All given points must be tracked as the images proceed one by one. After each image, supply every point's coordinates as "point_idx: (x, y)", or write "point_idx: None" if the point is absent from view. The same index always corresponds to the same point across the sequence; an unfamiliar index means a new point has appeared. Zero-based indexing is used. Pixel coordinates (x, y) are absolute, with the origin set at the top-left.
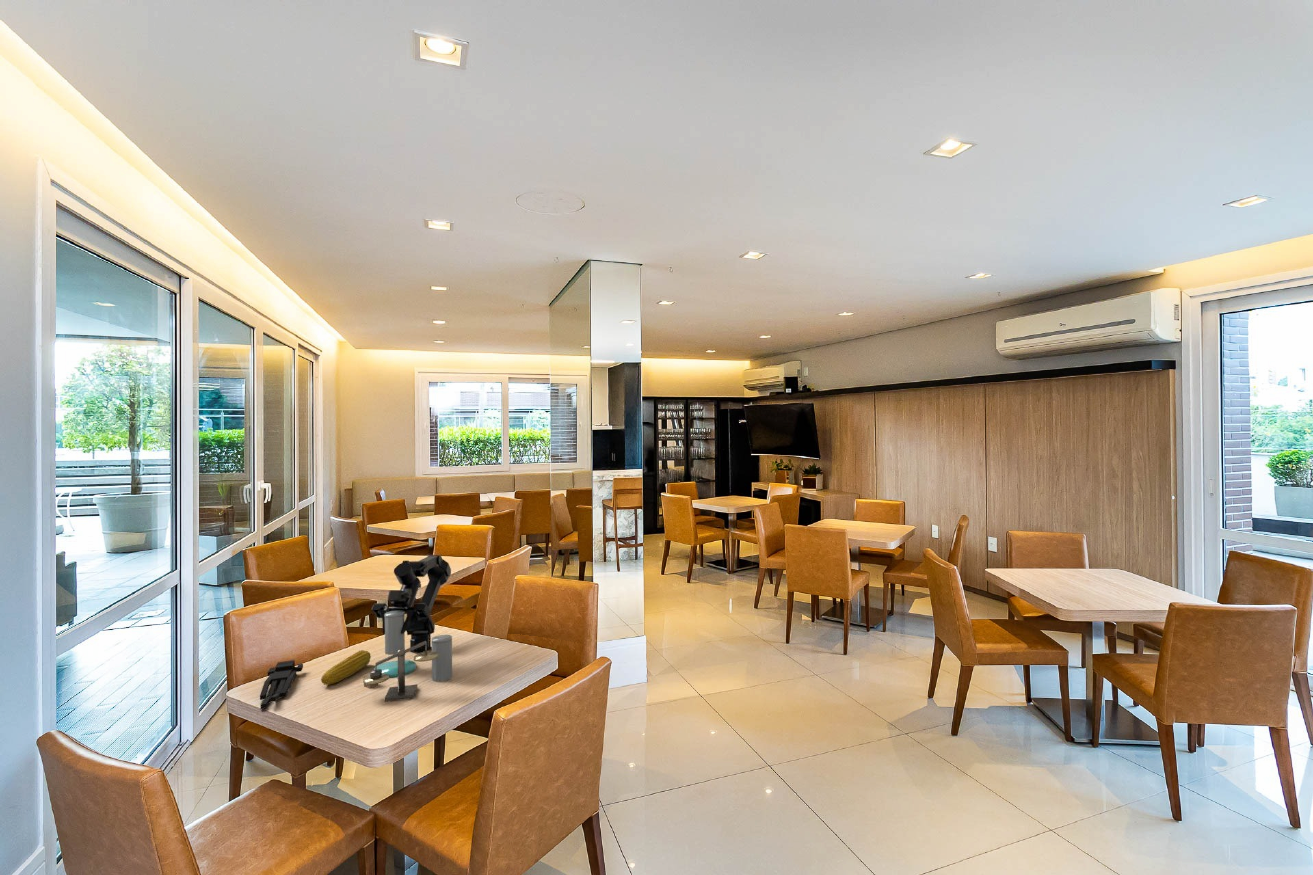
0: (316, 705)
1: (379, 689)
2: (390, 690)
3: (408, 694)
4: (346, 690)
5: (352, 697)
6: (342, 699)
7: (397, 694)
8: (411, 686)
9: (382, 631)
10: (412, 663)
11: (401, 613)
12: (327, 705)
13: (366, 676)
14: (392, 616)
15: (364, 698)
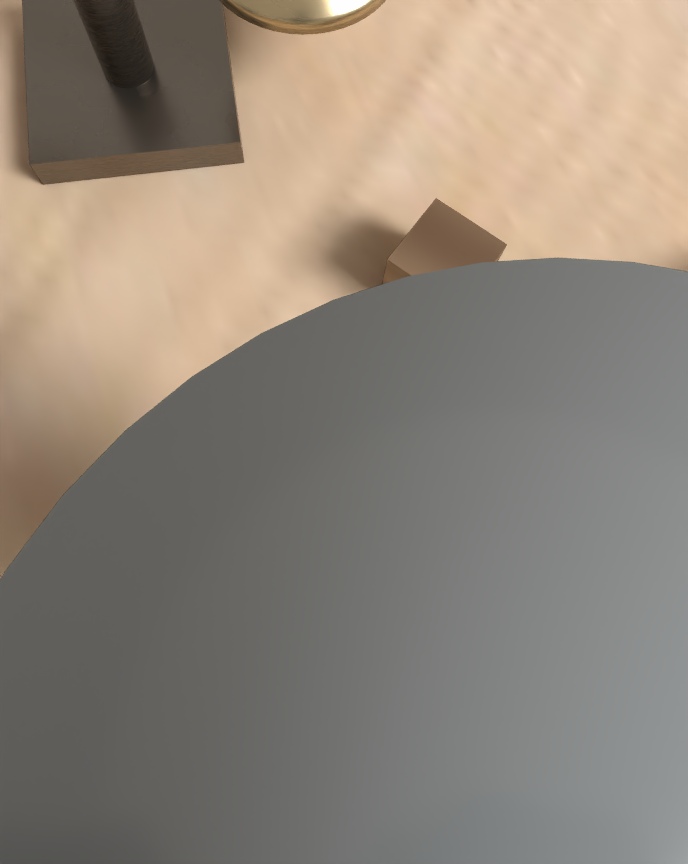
0: (652, 22)
1: (335, 206)
2: (215, 84)
3: (60, 1)
4: (583, 226)
5: (475, 101)
6: (529, 81)
7: (141, 12)
8: (70, 133)
9: None
10: None
11: (17, 647)
12: (580, 11)
13: (490, 259)
14: (486, 301)
15: (382, 74)
